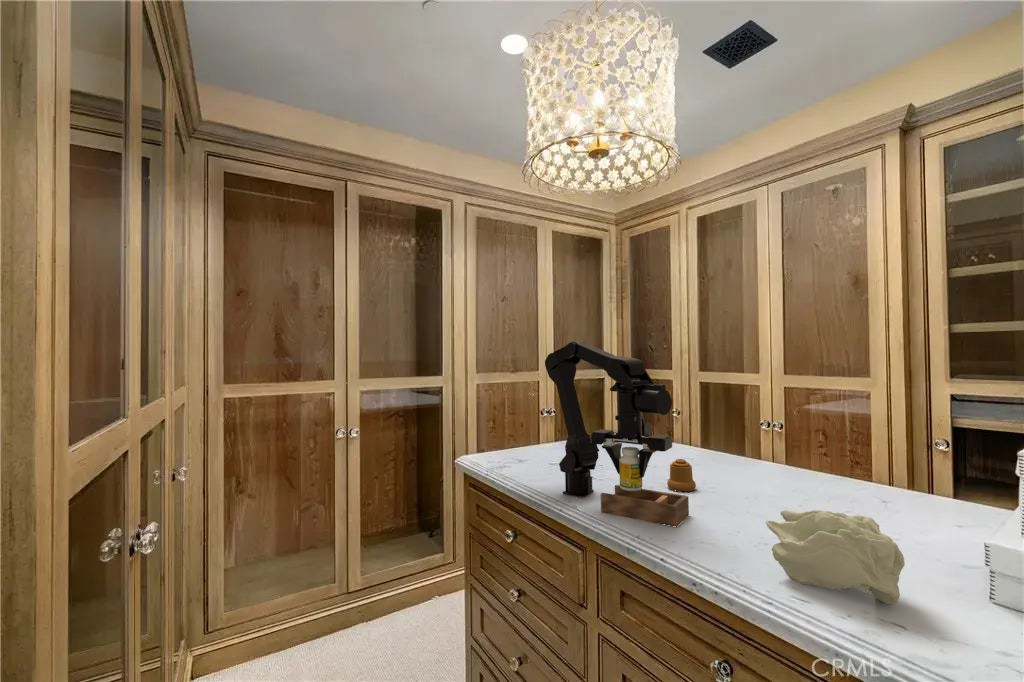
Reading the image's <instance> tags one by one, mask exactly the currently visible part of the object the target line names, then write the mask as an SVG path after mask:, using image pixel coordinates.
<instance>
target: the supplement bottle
mask: <svg viewBox="0 0 1024 682" xmlns="http://www.w3.org/2000/svg"><path fill="white" fill-rule="evenodd" d="M639 450H640V448H638V447H634V446H623V447H621V457H620V459H619V470H620V474H619V485H620V488H621V489H623V490H627V491H639V490H641V489H643V478H641V476H640V467H639Z"/></svg>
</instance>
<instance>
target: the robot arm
mask: <svg viewBox="0 0 1024 682" xmlns="http://www.w3.org/2000/svg"><path fill="white" fill-rule="evenodd" d="M582 361H585V362H587V363H589V364H591V365H592V366H596V367H597V368H599V369H601V370H603V371H605V372H606V374H607V376H608V377H609V378H611V379H612V380H614V381H615V383H614V384H613V385H612V386H611V387H610V389H609V391H611V392H616V408H617V409H616V413H617V414H616V415H615V416H614V418H615V419H614V420H615V421H617V432H614V430H612V429H603V428H602V429H597V430H594V431H592V432H591V434H590V435H589V434H588V432H587V431H586V427H585V422H584V419H583V415H582V410H581V407H580V402H579V398H578V393H577V389H576V386H575V382H574V381H575V377H576V375H577V366H578V364H579V363H581V362H582ZM544 367H545V369H546V372H547V375H548V378H549V379H551V380H552V382H553V383H554V384H555V385H556V389H557V393H558V398H559V402H560V405H561V411H562V415H563V420H564V423H565V427H566V432H567V439H566V442H565V450H564V451H565V455H564V456H563V458H561V461H560V462H559V464H558V465H559V471H560V472H562V473H564V477H565V478H564V480H565V481H564V482H565V483H564V484H565V490H563V491H562V494H563V495H567V496H573V497H578V498H585V497H587V496H589V495H591V494H592V493H594V492H595V490H594V489H593V477H592V476H591V473H592V472H591V471H592V470H593V471H594V470H595V468H596V464H597V461H598V459H599V452H600V449H599V447H598V445H600V446H601V448H602V449H605V451H606V453H607V454H608V456H609V458H610V460H611V461H612V464H613V466H614V467H615V470H616V472H617V474H618V475H620V470H619V459H620V457H621V456H622V448H623V447H622V446H623V443H624V444H632V445H639V446H642V449H639V455H638V457H639V467H640V476H641V478H642V479H643V478H644V477H645V475H646V472H647V468H648V465H649V462H650V460H651V457H652V455H653V453H656V452H666V451H668V450H671V449H672V448H673V439H672V437H671V436H670V435H667V434H653V435H651V427H652V424H651V423H649V422H648V421H646V420H645V416H644V414H643V413H645V414H650V415H652V414H653V415H658V416H659V415H661V416H665V415H668V414H669V413H670V411H671V409H672V405H673V399H672V397H671V394H670V392H669V391H668V390H666V384H661V383H660V384H655V383H654V382H653V380H652V377H651V376H650V375H649V373H648V372H647V370H646V368H645V366H644V362H643V361H642V360H641V359H638V358H635V357H634V358H633V357H628V356H620V355H614V354H612V353H610V352H607V351H605V350H602V349H600V348H599V347H596V346H594V345H591V344H588V343H587V342H585V341H584V340H583V341H581V340H580V341H577V340H576V341H575V340H573V341H570V342H569V343H568V344H566V345H565V346H563V347H561V348H558V349H557V350H555V351H554V352H551V353H549V354H547V356H546V358H545V360H544Z"/></svg>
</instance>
